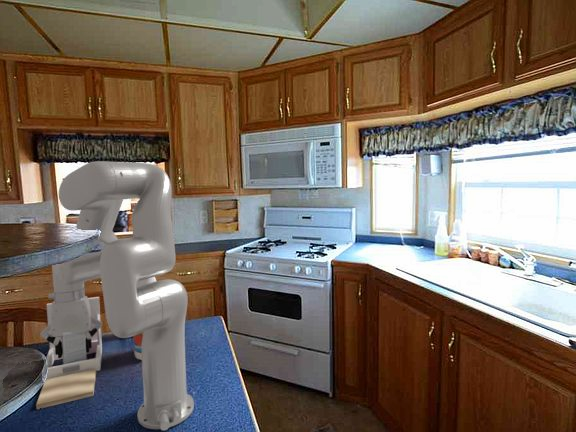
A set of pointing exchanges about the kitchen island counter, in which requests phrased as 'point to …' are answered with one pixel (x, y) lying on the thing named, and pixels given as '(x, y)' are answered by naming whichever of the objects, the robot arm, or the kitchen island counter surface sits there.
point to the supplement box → (73, 347)
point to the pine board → (67, 388)
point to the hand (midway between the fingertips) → (74, 353)
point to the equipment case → (96, 347)
